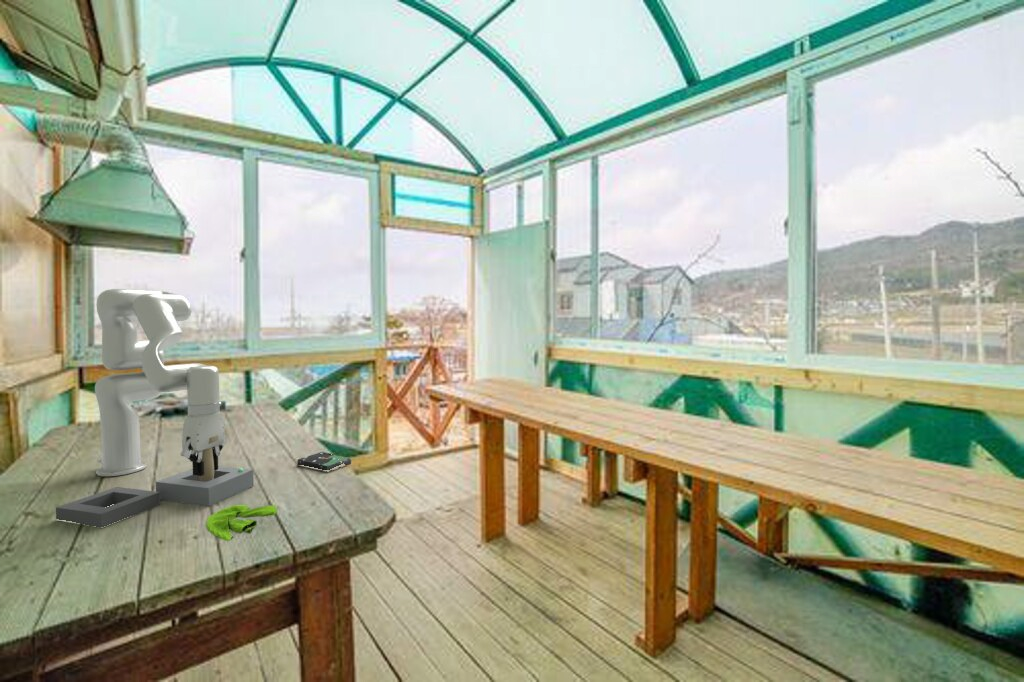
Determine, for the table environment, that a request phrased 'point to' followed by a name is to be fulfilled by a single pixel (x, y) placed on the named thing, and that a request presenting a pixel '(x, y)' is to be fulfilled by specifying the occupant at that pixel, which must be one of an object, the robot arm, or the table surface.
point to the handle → (208, 462)
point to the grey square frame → (99, 516)
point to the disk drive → (324, 461)
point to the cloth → (222, 524)
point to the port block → (205, 486)
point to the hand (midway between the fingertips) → (205, 471)
